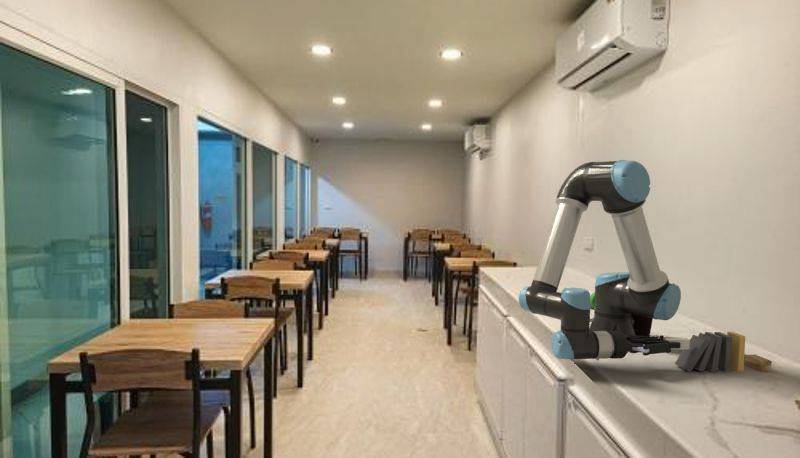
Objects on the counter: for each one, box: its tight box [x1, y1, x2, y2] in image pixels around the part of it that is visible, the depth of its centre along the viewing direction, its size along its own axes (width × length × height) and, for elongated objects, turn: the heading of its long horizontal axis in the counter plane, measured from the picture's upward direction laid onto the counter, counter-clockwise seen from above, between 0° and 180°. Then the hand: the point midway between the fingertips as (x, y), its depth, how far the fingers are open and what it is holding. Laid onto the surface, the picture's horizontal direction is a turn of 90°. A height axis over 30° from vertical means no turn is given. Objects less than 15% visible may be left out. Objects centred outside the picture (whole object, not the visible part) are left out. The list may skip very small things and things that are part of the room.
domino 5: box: [726, 331, 746, 373], centre depth 149 cm, size 2×5×10 cm, turn 6°
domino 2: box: [693, 332, 717, 373], centre depth 148 cm, size 2×5×10 cm, turn 6°
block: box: [744, 354, 773, 373], centre depth 150 cm, size 3×6×3 cm, turn 6°
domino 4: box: [713, 331, 732, 373], centre depth 149 cm, size 2×5×10 cm, turn 6°
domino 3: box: [704, 331, 722, 373], centre depth 148 cm, size 2×5×10 cm, turn 6°
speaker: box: [560, 286, 595, 310], centre depth 233 cm, size 18×7×8 cm, turn 31°
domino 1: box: [674, 334, 710, 373], centre depth 148 cm, size 2×5×10 cm
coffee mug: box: [631, 314, 654, 336], centre depth 183 cm, size 12×9×10 cm
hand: (687, 343), depth 148 cm, fingers closed
